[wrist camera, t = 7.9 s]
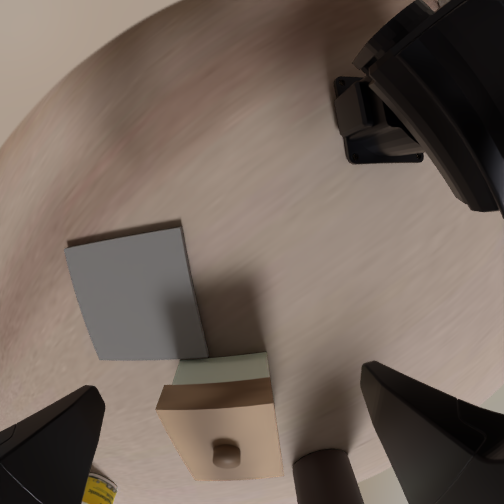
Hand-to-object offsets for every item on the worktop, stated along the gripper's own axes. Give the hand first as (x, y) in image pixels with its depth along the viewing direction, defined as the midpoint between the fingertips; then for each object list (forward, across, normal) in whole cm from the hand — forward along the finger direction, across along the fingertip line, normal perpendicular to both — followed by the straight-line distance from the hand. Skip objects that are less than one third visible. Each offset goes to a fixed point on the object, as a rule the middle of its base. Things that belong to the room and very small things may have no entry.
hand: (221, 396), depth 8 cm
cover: (+8, +2, +10) cm, 13 cm away
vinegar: (+12, -6, +25) cm, 28 cm away
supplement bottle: (+12, +27, +32) cm, 44 cm away
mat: (+12, +8, +1) cm, 14 cm away
